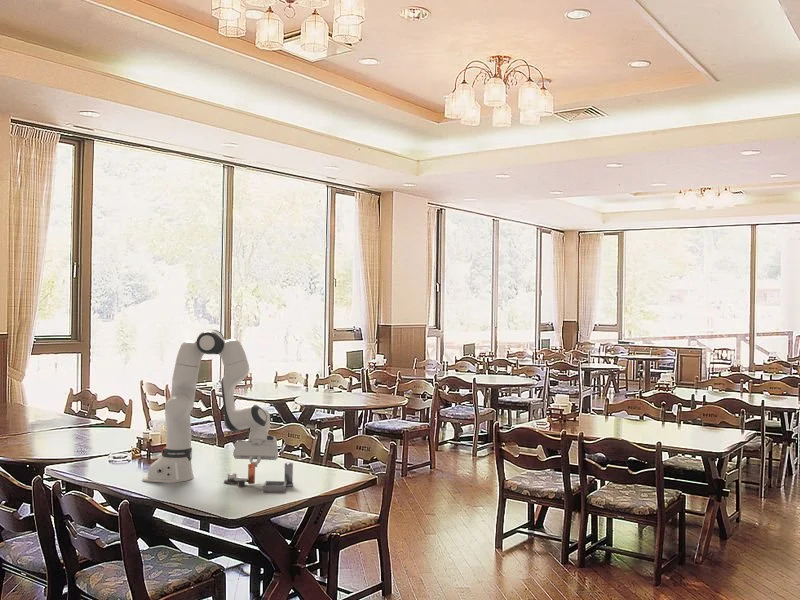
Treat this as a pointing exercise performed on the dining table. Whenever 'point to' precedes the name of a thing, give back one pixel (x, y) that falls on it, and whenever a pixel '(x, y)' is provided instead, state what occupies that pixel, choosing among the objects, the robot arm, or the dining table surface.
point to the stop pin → (289, 474)
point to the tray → (275, 486)
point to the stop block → (241, 483)
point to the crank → (250, 478)
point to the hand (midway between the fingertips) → (253, 466)
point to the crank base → (231, 482)
